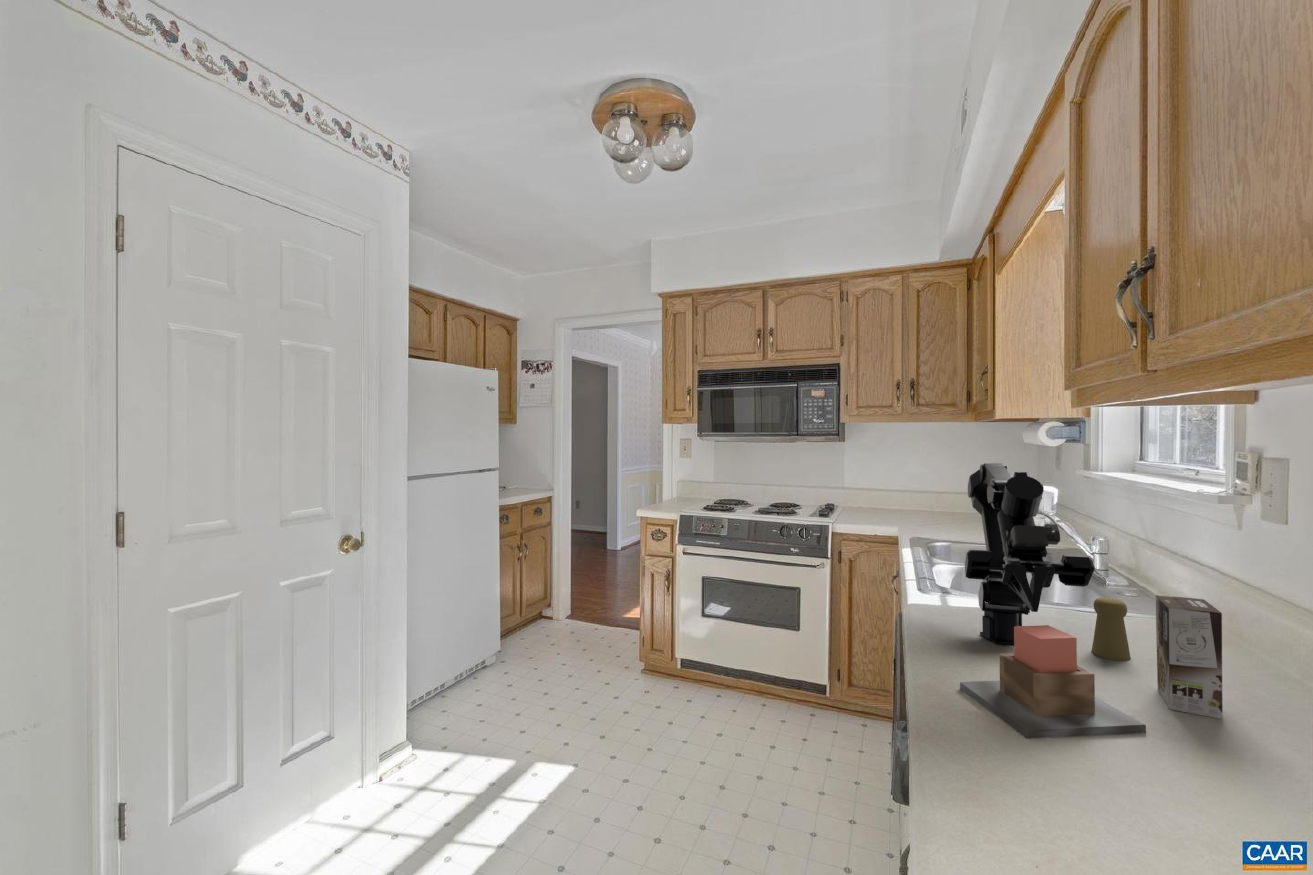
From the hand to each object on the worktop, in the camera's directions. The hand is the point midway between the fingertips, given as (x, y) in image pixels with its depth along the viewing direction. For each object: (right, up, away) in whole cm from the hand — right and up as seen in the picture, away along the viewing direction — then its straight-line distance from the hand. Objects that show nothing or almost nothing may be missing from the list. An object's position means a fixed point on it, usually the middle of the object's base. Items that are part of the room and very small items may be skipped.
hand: (1035, 610), depth 95 cm
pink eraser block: (-2, -8, -5) cm, 10 cm away
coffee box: (+22, -14, -4) cm, 26 cm away
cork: (+26, -14, +17) cm, 34 cm away
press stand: (-2, -14, -5) cm, 15 cm away
